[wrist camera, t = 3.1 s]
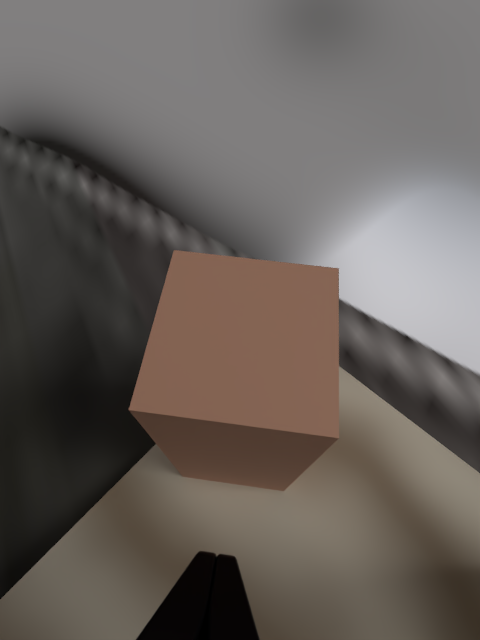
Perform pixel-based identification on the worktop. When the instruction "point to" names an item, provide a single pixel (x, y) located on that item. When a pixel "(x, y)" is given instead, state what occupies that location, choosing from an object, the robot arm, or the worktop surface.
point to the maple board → (279, 543)
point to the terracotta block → (242, 369)
